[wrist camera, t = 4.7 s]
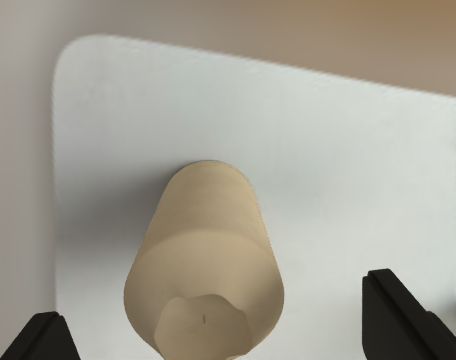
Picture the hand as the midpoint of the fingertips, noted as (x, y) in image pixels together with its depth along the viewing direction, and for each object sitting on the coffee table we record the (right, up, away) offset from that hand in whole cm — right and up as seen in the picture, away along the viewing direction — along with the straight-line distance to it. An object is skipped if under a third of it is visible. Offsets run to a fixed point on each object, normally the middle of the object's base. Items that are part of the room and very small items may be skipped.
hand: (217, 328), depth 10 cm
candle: (-1, +3, +9) cm, 10 cm away
